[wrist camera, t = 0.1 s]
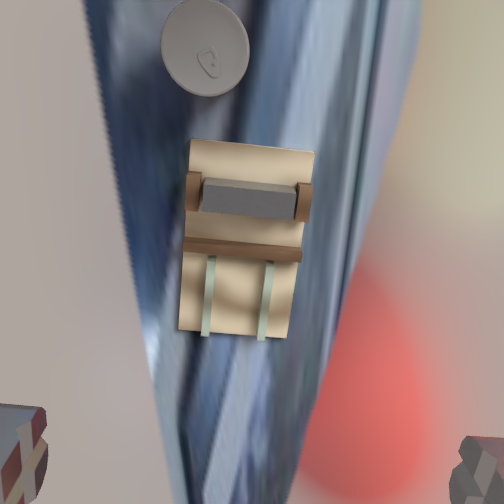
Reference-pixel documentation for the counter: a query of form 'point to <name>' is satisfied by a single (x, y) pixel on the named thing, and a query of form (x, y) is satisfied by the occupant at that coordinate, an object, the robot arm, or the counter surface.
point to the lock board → (242, 243)
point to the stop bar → (248, 198)
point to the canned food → (205, 47)
